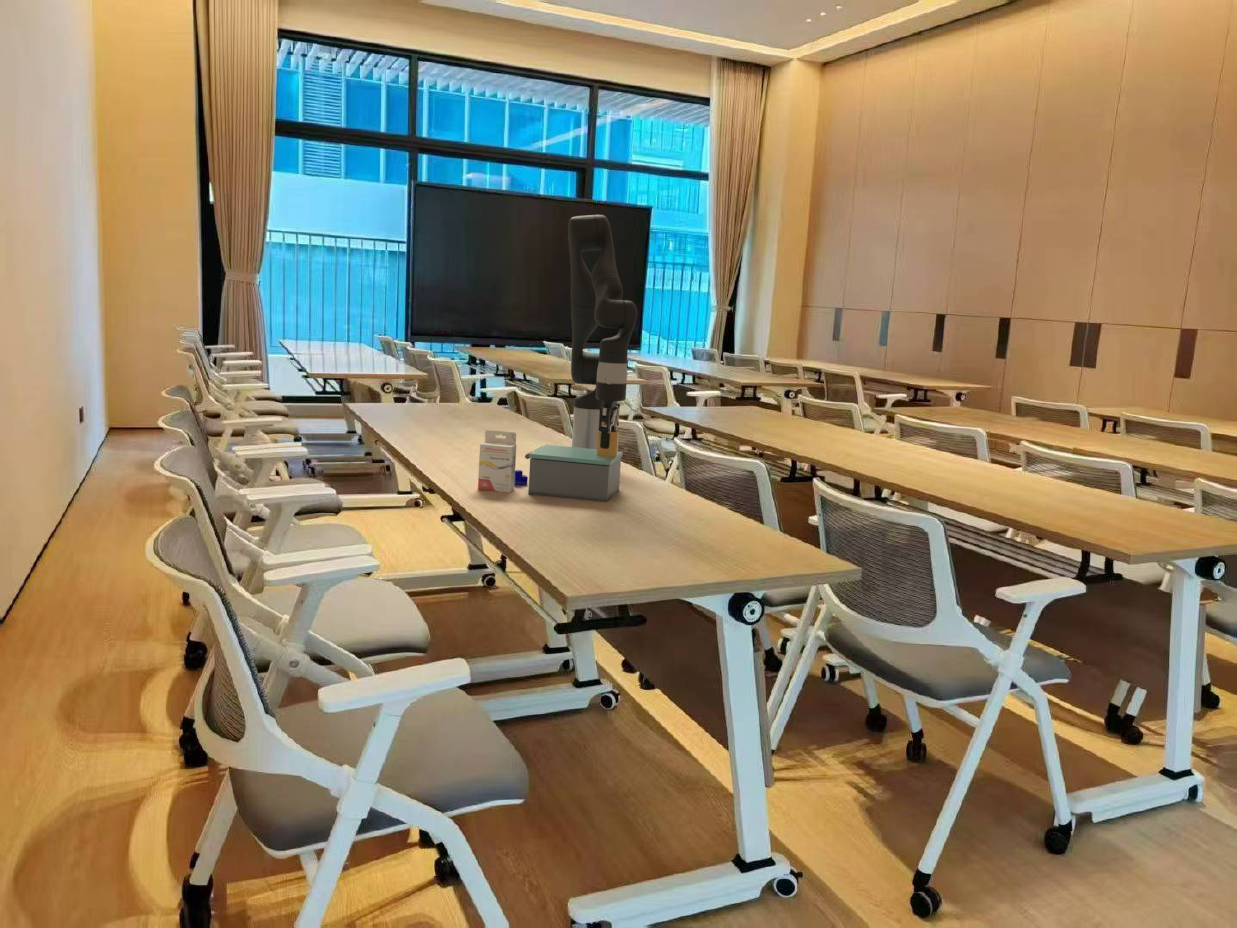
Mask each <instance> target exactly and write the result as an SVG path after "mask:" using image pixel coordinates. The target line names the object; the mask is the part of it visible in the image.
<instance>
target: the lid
mask: <svg viewBox="0 0 1237 928" xmlns="http://www.w3.org/2000/svg"><path fill="white" fill-rule="evenodd" d="M619 436H620V432H618V431H616V432H610V444H609V448H608V449H604V448H601V447H600V440H601V433H600V431H598V444H597V449H587V448H577V447H572V446H566V445H565V446H562V445H556V444H555V445H552V444H545V445H542V446H540V447H538V448H537V449H533V450H532V451H530V452H528V453H526V454H525V456H524V458H525V459H526V460H530V459H531V458H537V459H547V460H558V461H568V462H579V463H589V464H600V465H611V464H613V463H614V462H615V461H616V460H618V459H619V458H620V457H621V458H622V457H623V453H624V452H623V451H619V439H620V437H619Z"/></svg>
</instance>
